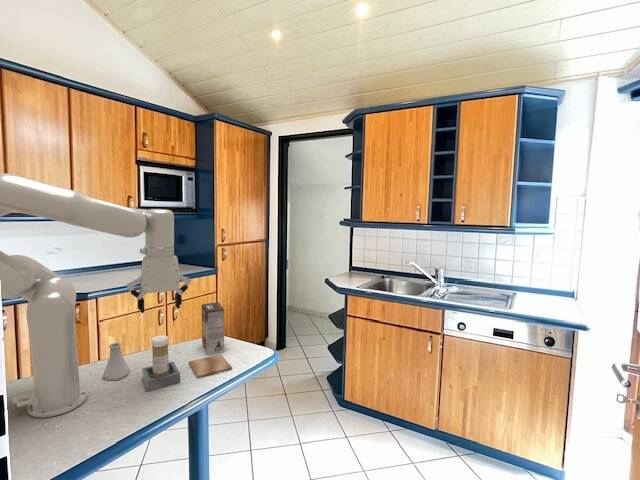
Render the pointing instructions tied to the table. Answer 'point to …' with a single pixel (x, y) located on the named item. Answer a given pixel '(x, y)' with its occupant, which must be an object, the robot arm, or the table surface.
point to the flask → (116, 364)
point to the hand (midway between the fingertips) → (160, 309)
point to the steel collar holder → (160, 381)
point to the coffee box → (213, 328)
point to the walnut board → (209, 366)
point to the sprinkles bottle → (160, 356)
